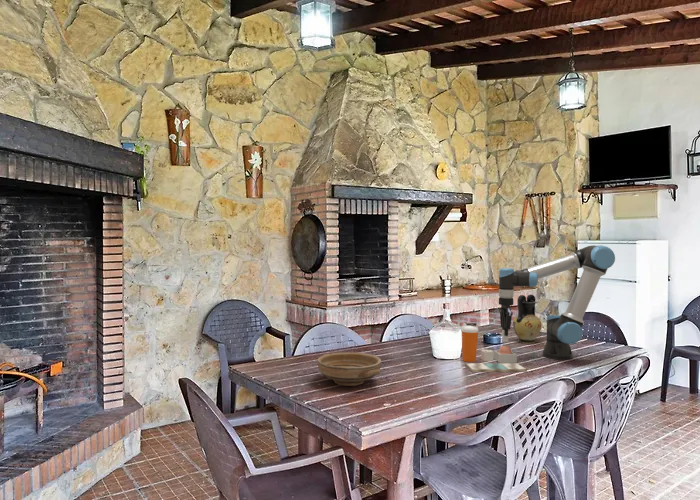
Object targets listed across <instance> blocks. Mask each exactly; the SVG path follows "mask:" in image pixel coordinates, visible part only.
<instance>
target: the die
mask: <svg viewBox="0 0 700 500" xmlns="http://www.w3.org/2000/svg"><path fill="white" fill-rule="evenodd" d="M480 360H482V361H484V362H494V350H492V349H481V351H480Z"/></svg>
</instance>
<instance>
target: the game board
mask: <svg viewBox="0 0 700 500" xmlns="http://www.w3.org/2000/svg"><path fill="white" fill-rule="evenodd" d="M464 366H465V367H466V368H467V369H468V370H469V371H470V370H471V371H470V372H472V373H524V372H525V373H526V372H528V371H527V368H526V367H524V366H522V365H521V364H519V363H518V362H517V363H499V362H497V363H494V362H493V363H491V362H490V363H489V362H488V363H487V362H486V363H479V362H478V363H477V362H476V363H475V362H465V363H464Z"/></svg>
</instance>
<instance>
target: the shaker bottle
mask: <svg viewBox="0 0 700 500" xmlns="http://www.w3.org/2000/svg"><path fill="white" fill-rule="evenodd" d="M477 325H478V323H476V322H467V321H465V322H464V323H463V324H462V326H461V328H460V331H461V352H462V353H461V354H462V361H463V362H465V363H475V362H477V353H478V352H477V351H478V337H479V335H478V333H479V327H478V326H477Z"/></svg>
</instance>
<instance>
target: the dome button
mask: <svg viewBox="0 0 700 500" xmlns="http://www.w3.org/2000/svg"><path fill="white" fill-rule="evenodd" d="M498 351H499V353H500V354H511V353H512V352H513V351H512V348H511V347H510V346H508V345H502V346H500V347H499V348H498ZM511 351H512V352H511Z"/></svg>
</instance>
